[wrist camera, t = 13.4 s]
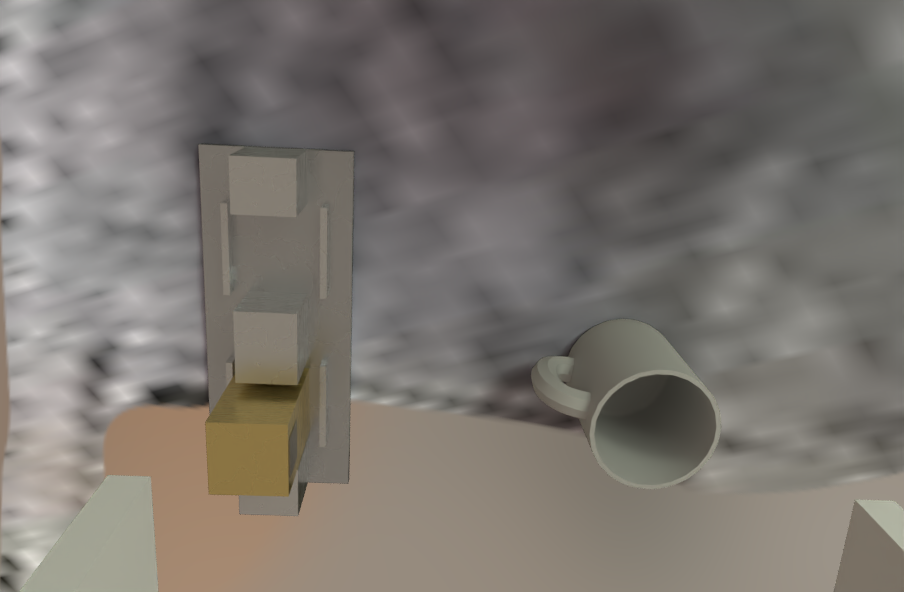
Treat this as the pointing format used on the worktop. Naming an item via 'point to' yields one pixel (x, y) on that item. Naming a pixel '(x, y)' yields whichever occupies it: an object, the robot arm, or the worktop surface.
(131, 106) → the worktop surface
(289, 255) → the rail
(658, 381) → the cup
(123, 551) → the robot arm
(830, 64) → the worktop surface
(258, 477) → the block
